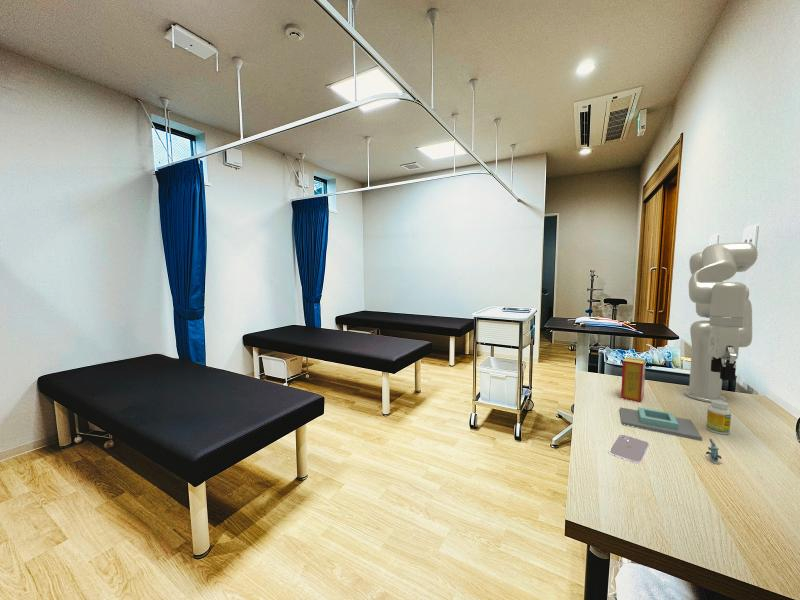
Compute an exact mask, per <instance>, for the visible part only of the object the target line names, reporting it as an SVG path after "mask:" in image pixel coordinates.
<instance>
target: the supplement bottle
mask: <svg viewBox="0 0 800 600" xmlns="http://www.w3.org/2000/svg"><path fill="white" fill-rule="evenodd" d="M731 418H732V412H731V410H730V409H729V402H727V401H726V402H724V401H720V400H711V402H710V405H709V406H708V407H707V416H706V429H707V430H708V431H710V432H712V433H715V434H719V435H729V434H730V431H731V430H730V429H731Z"/></svg>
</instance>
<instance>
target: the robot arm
mask: <svg viewBox="0 0 800 600" xmlns="http://www.w3.org/2000/svg"><path fill="white" fill-rule="evenodd" d="M757 260H758V249H757V247H756V246H755V245H754V244H753V243H751V242H728V243H727V242H726V243H724V242H723V243H722V242H721V243H714V244H711V245H708V246H706V247H705V248H704V249H703V251H701V252H700V251H699V252H697V253H694V254H692V255H691V256H690V258H689V270H690V274H691V276H690V278H689V281H688V296H689V299H690V301H691V302H692V303H694V304H695V312H696V314H697V316H699V317H701V318H705V319H709V320H698V321H697V320H696V321H694V322H693V323H692V324H690V328H689V332H690V341H691V342H690V343H691V354H690V370H689V372H690V373H689V386H688V389H684V390H683V394H684V395H685V396H687V397H688V398H691V399H694V400H698V401H702V402H706V403H711V400H720V401H724V402H727V398H726V396H724V395H722V387H723V385H722V384H723V380H725V381H732V382H734V381H735V380H736V371H737V359H738V357H739V350H740V349H739V348H746V347H749V346H751V344H752V340H753V306H752V303H751V300H750V299H749V297H750V288H749V287H747V285H746V284H745V283H743V282H734V281H727V280H729V279H731V278H733V277H734V276H735V275H736V274H737V273H741V272H742V273H743V272H746V271H748V270H749V269H750V268H751V267H752V266H753V265H755V264H756V262H757Z"/></svg>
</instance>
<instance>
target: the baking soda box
mask: <svg viewBox="0 0 800 600" xmlns="http://www.w3.org/2000/svg"><path fill="white" fill-rule="evenodd" d="M646 362H647V360H646V358H642V357H641V358H639V357H633V356H625V358H624V359H623V360H622V369H621V370H622V372H621V388H620V389H621V390H620V391H621V392H620V399H621V398H623V399H622V400H626V399H627V400H628V401H631V400H632V402H635V401H636V403H640V404H641V403H642V401H643V398H644V393H645V381H646V380H645V379H646V378H645V377H646Z"/></svg>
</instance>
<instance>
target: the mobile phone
mask: <svg viewBox="0 0 800 600" xmlns="http://www.w3.org/2000/svg"><path fill="white" fill-rule="evenodd" d="M616 439H617V440H616ZM616 439H615V441H614V442H615V443H614V442H613V444H612V445H613V446H611V447H612V448H611V447H610V448H611V451H610V452H611V453H612V454H614V455H617V456H619V457H622V458H625V459H628V460H630V461H633V462H636V463H635V464H637V463H640V462H641V461H643V460H642V459H644V457H645V455H646V453H647V451H648V448H649V447H648V446H650V444H649V442H647V441H645V440H641V439H638V438H635V437H631V436H628V435H625V434H619V435H618V437H617V438H616ZM619 457H618V458H619ZM622 458H621V459H622ZM630 461H629V462H630ZM633 462H632V463H633ZM641 463H642V462H641ZM641 463H640V464H641Z"/></svg>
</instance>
